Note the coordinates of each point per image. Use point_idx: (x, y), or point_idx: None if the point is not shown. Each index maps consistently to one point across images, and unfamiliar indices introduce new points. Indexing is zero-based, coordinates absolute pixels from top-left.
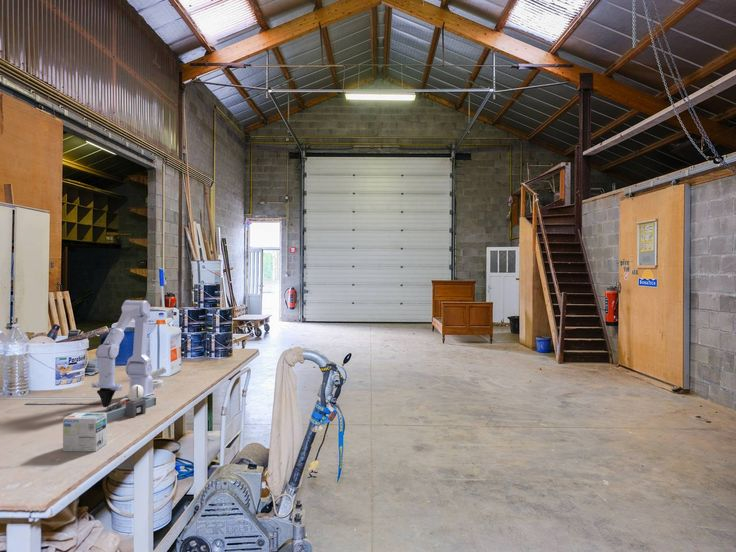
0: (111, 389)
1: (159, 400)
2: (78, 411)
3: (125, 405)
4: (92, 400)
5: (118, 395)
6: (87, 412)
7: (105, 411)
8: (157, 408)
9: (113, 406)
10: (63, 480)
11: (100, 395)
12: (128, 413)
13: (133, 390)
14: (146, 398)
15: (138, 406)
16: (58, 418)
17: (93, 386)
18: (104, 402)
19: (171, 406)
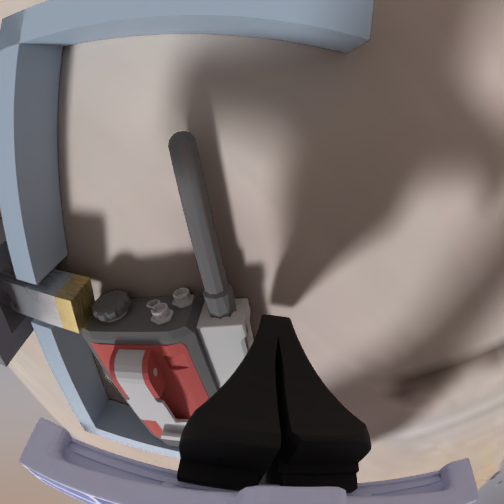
0: (164, 471)
1: None
2: (328, 9)
3: (60, 315)
4: (459, 400)
5: (375, 459)
6: (179, 8)
7: (192, 240)
8: (42, 360)
9: (177, 321)
10: None
11: (312, 398)
12: (1, 229)
13: None
14: (122, 432)
15: (6, 312)
16: (487, 51)
17: (452, 475)
18: (261, 340)
19: (33, 380)
